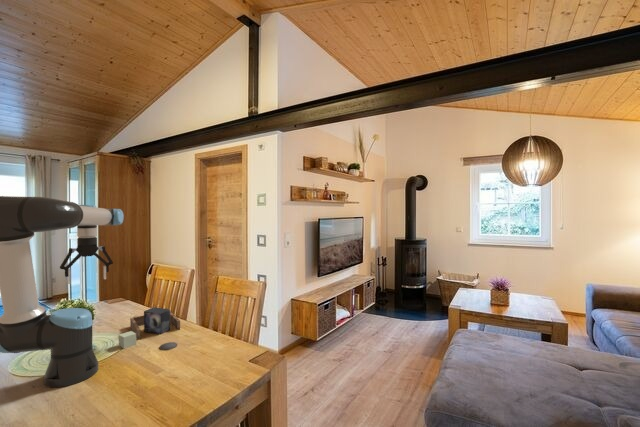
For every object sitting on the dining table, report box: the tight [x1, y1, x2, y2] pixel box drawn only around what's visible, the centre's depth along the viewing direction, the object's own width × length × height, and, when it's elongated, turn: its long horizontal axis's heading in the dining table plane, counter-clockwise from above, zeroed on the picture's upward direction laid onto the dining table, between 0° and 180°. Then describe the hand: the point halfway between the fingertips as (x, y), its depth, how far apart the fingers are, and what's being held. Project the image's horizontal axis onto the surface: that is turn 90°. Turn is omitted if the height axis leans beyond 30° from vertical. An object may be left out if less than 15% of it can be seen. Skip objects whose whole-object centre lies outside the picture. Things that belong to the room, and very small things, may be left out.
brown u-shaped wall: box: [129, 310, 181, 341], centre depth 153 cm, size 20×18×4 cm
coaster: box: [159, 341, 178, 351], centre depth 132 cm, size 7×7×1 cm
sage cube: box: [118, 330, 137, 349], centre depth 134 cm, size 5×5×5 cm
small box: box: [143, 306, 171, 336], centre depth 149 cm, size 11×6×10 cm, turn 73°
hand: (87, 281), depth 146 cm, fingers open, 13 cm apart
